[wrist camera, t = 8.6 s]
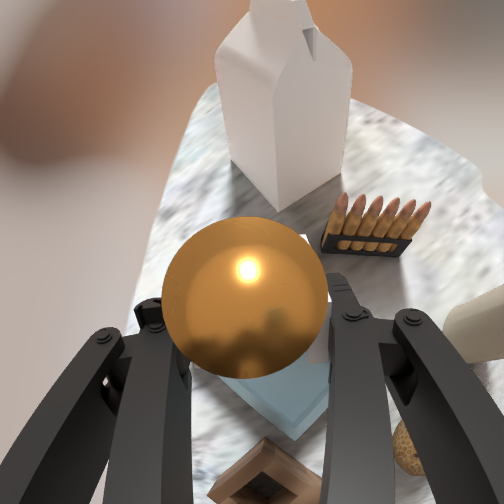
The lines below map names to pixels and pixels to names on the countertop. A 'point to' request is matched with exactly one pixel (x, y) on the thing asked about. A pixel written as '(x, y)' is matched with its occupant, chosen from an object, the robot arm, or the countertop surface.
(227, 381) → the tray
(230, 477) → the block
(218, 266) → the pin
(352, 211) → the ammunition clip
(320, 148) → the milk
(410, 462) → the natural sponge
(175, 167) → the countertop surface
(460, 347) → the travel mug
